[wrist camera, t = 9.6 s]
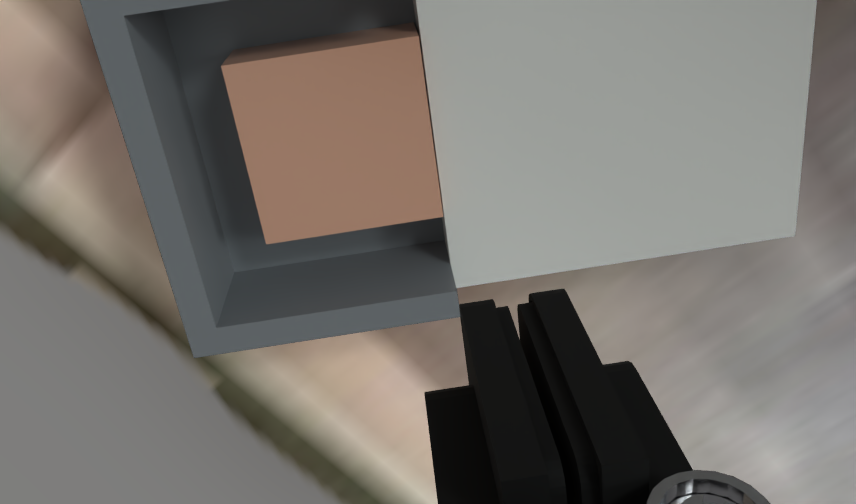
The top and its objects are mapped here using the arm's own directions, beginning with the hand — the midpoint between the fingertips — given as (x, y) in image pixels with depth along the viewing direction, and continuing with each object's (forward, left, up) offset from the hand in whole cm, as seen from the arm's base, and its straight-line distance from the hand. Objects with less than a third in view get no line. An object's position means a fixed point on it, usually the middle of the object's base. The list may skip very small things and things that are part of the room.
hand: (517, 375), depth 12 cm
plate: (0, +6, -17) cm, 18 cm away
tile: (0, -3, -16) cm, 16 cm away
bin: (0, -5, -17) cm, 18 cm away
